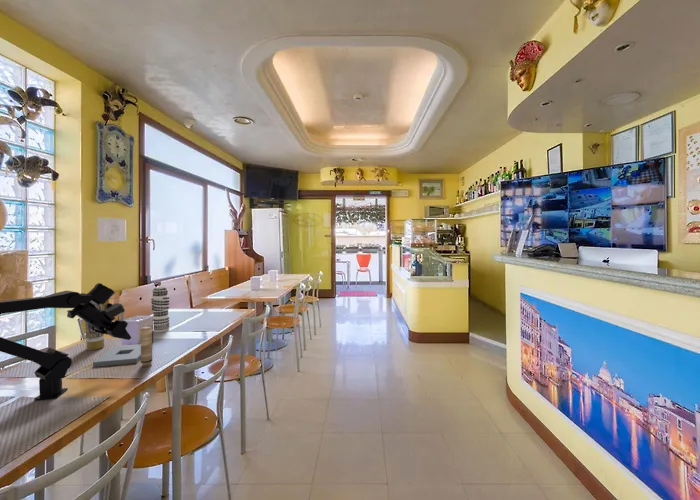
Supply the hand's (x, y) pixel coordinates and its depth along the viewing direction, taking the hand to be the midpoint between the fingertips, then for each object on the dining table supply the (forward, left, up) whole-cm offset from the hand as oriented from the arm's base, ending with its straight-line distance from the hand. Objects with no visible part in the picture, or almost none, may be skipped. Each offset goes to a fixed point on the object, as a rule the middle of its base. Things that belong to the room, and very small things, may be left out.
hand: (124, 337), depth 130 cm
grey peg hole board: (+17, +6, -14) cm, 23 cm away
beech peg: (+3, -7, -14) cm, 16 cm away
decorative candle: (+58, +2, -14) cm, 60 cm away
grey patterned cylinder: (+33, +24, -14) cm, 43 cm away
